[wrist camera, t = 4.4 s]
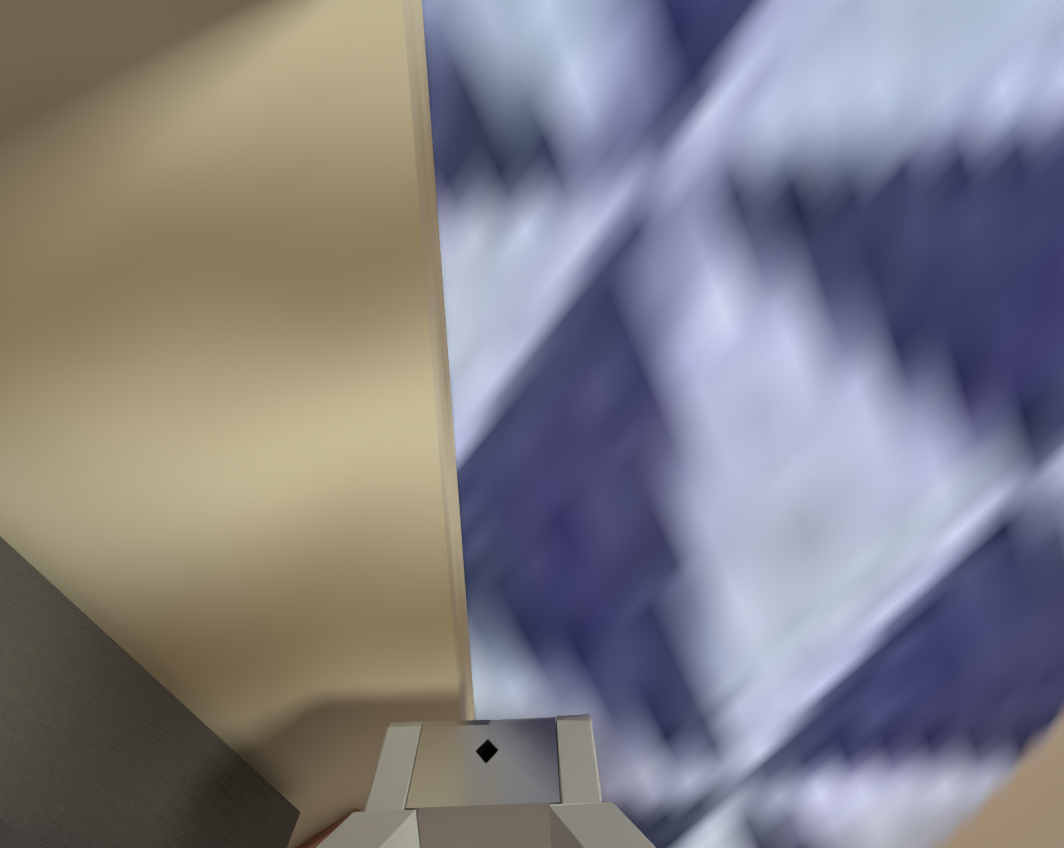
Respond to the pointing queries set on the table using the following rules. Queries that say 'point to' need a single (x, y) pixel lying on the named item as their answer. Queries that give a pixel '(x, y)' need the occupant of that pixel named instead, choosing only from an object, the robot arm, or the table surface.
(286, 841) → the tuning needle
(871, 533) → the table surface
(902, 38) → the table surface
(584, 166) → the table surface
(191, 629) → the dial board
